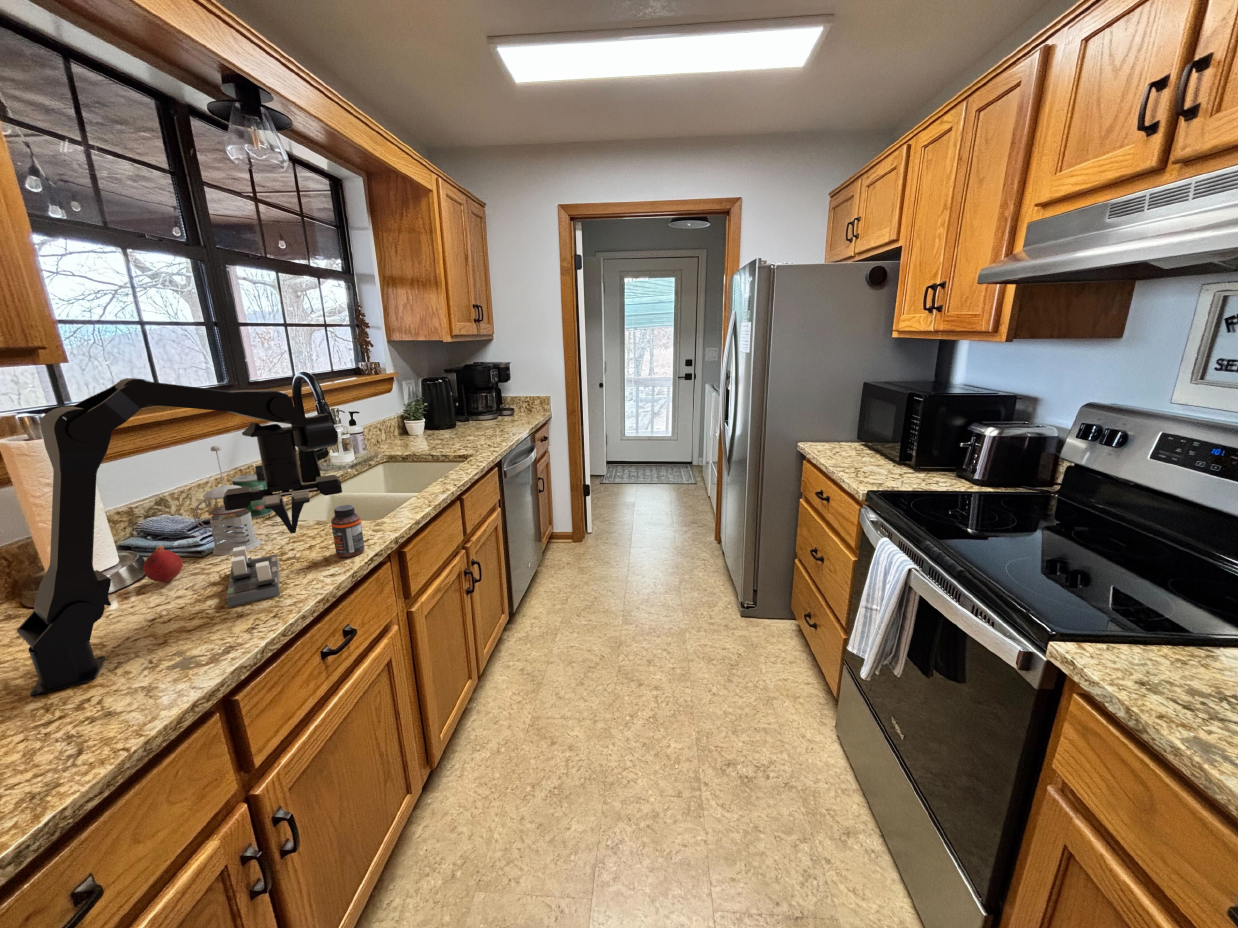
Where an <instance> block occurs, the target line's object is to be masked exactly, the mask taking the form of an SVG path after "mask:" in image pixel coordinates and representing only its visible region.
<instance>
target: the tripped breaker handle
mask: <svg viewBox="0 0 1238 928" xmlns="http://www.w3.org/2000/svg"><path fill="white" fill-rule="evenodd" d="M256 571H257V576H258V577H256V586H259V585H263V584H268V583H272V582H275V575H274V573H273V574H271V571H270V566H269V561H266V562H261V563H257V564H256Z"/></svg>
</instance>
